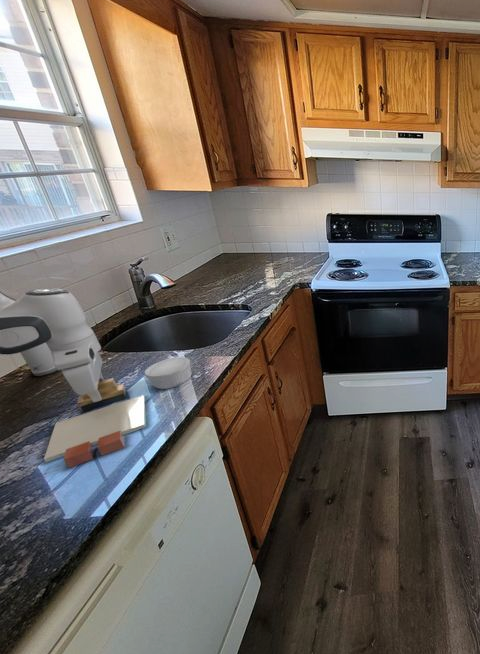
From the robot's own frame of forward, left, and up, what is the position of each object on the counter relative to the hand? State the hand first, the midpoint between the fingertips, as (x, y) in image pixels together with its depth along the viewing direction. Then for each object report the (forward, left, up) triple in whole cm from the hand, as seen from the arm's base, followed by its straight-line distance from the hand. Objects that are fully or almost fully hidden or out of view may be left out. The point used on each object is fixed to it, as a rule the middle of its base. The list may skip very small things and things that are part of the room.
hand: (99, 392), depth 100 cm
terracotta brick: (+3, -25, -3) cm, 25 cm away
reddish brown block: (-3, -25, -3) cm, 25 cm away
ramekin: (+16, 0, -4) cm, 16 cm away
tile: (0, -13, -3) cm, 13 cm away
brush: (0, 0, -3) cm, 3 cm away
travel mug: (-16, +35, -4) cm, 39 cm away
